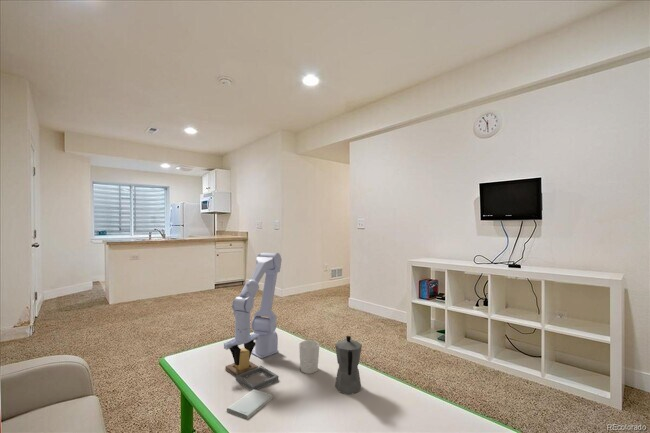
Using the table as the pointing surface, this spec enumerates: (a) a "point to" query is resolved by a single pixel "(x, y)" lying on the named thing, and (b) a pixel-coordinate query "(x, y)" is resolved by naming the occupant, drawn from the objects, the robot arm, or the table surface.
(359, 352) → the coffeepot
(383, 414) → the table surface
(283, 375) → the table surface
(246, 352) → the peg
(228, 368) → the socket block
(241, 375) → the gray square frame
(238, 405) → the hard drive
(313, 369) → the white cup
